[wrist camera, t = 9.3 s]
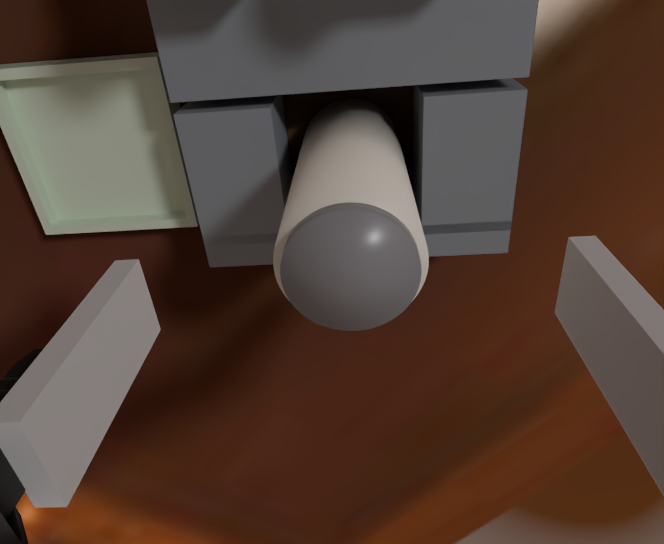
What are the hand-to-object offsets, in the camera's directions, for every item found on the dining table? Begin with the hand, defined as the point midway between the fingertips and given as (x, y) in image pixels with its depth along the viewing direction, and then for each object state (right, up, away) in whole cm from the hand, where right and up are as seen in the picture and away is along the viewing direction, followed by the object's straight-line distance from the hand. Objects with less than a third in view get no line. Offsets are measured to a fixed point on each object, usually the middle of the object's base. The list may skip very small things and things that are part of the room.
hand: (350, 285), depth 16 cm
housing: (0, +11, +8) cm, 14 cm away
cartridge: (0, +7, +11) cm, 13 cm away
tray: (-12, +7, +11) cm, 18 cm away
